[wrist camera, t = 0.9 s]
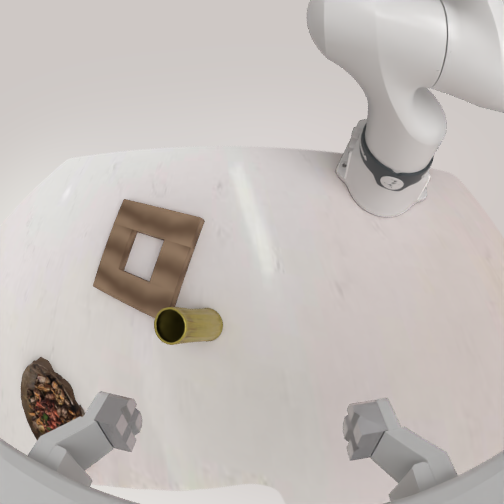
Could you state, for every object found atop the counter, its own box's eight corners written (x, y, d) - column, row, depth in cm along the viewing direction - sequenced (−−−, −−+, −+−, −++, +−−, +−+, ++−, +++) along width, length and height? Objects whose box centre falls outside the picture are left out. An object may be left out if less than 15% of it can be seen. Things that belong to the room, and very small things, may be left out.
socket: (128, 202, 60) (123, 199, 58) (204, 221, 55) (200, 217, 53) (98, 287, 57) (92, 286, 55) (169, 322, 51) (164, 322, 49)
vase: (198, 303, 51) (159, 297, 37) (228, 315, 49) (195, 314, 36) (187, 333, 50) (146, 336, 37) (216, 346, 48) (181, 355, 35)
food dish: (120, 460, 48) (101, 472, 40) (63, 469, 50) (47, 476, 43) (59, 338, 57) (37, 339, 50) (17, 374, 60) (0, 376, 52)
